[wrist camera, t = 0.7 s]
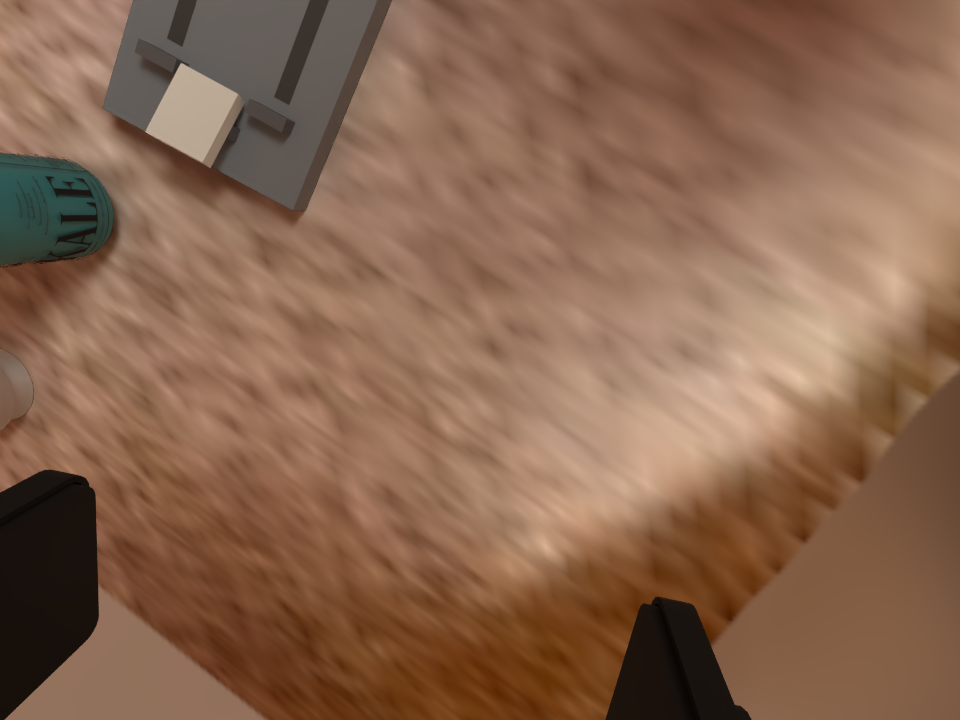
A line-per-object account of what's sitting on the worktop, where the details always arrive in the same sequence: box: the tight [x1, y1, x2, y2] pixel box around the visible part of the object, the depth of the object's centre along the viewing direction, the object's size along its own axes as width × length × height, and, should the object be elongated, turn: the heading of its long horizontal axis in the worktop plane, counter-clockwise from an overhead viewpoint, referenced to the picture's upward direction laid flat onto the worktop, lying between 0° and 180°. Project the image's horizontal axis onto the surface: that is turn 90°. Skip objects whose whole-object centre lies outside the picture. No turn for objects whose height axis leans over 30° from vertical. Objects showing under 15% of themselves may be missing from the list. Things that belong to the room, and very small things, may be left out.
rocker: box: [145, 63, 245, 168], centre depth 32 cm, size 4×4×1 cm
